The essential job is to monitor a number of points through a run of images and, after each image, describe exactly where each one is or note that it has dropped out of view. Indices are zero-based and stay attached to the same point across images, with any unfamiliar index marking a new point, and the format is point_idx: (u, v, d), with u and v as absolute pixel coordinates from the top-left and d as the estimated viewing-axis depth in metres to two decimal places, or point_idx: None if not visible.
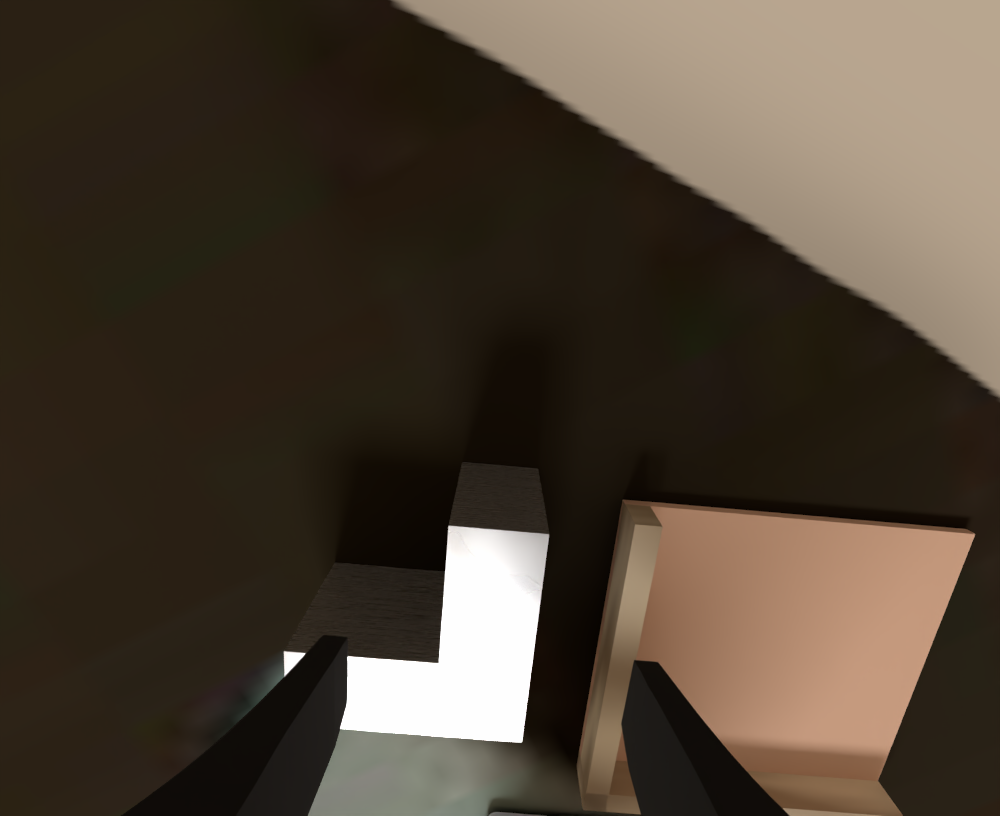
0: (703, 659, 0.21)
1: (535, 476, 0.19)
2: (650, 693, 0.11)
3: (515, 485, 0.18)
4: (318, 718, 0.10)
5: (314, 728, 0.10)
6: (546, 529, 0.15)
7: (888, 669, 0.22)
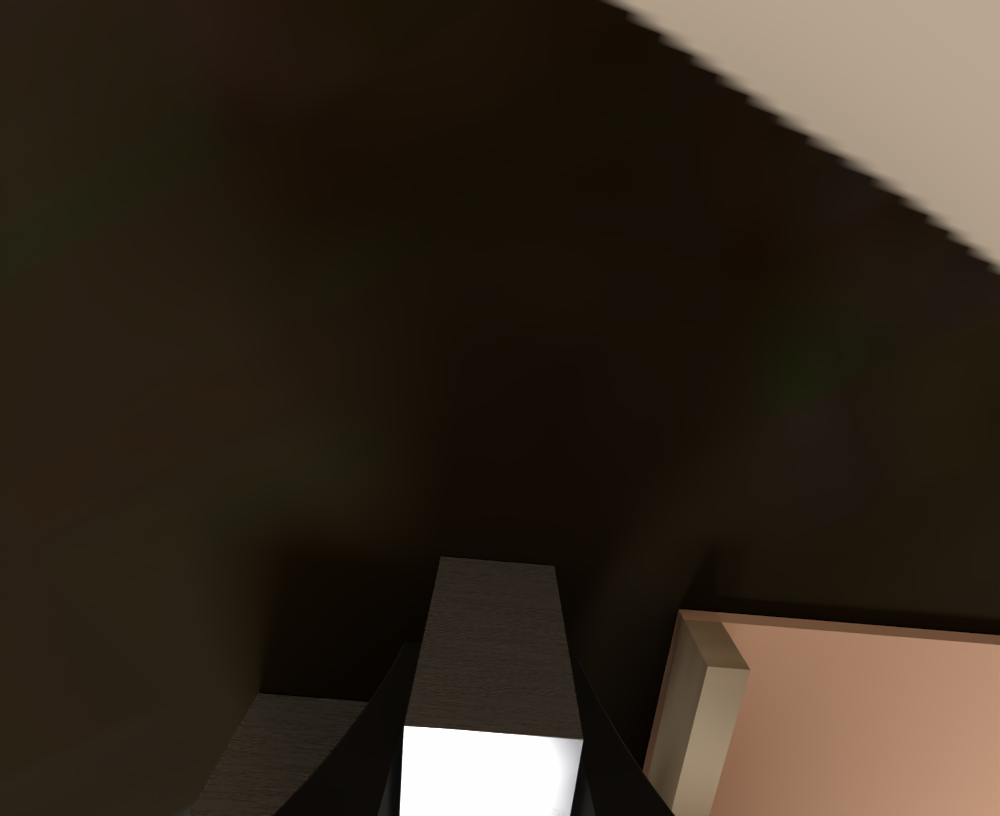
0: None
1: (551, 583, 0.12)
2: None
3: (521, 607, 0.11)
4: None
5: None
6: (577, 725, 0.09)
7: None
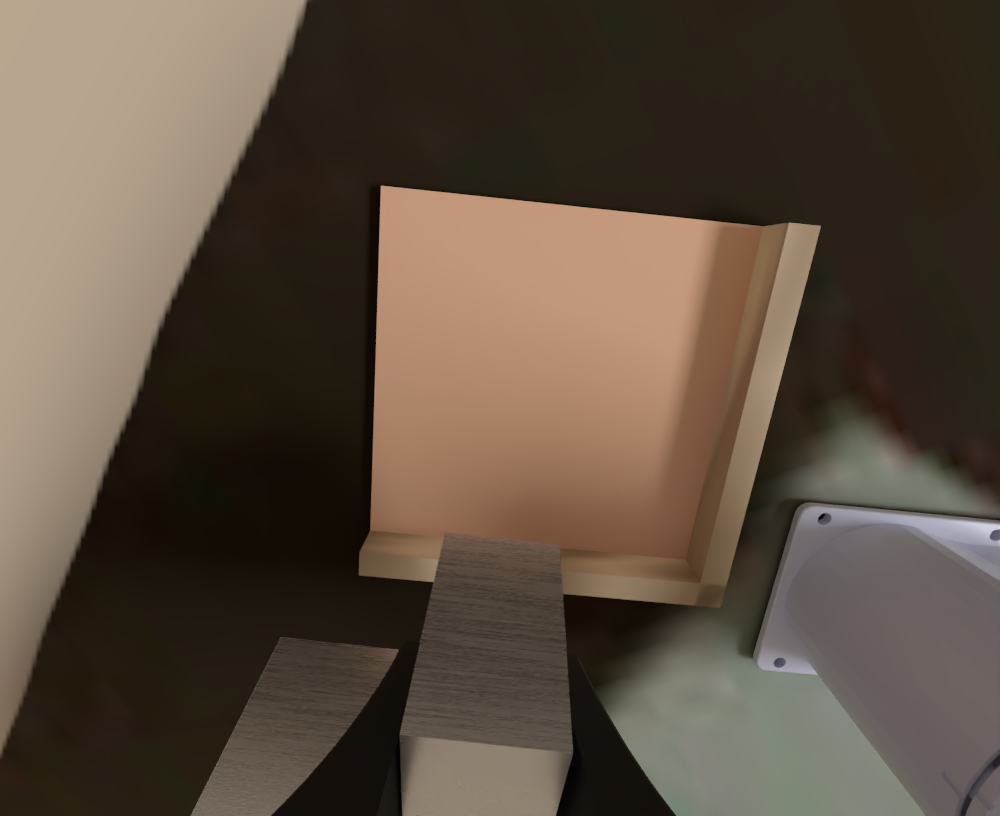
0: (551, 466, 0.19)
1: (555, 566, 0.12)
2: None
3: (522, 595, 0.11)
4: None
5: None
6: (568, 736, 0.09)
7: (574, 251, 0.17)
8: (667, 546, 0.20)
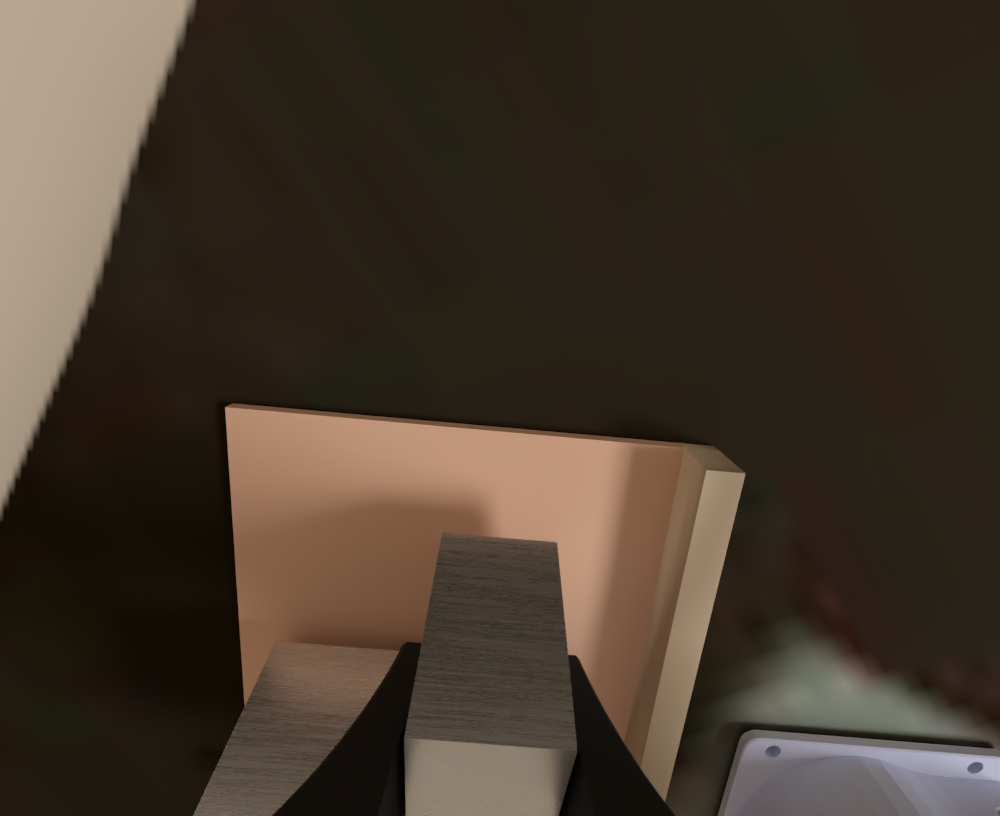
0: None
1: (553, 564, 0.12)
2: None
3: (521, 594, 0.11)
4: None
5: None
6: (572, 734, 0.09)
7: (461, 474, 0.14)
8: None
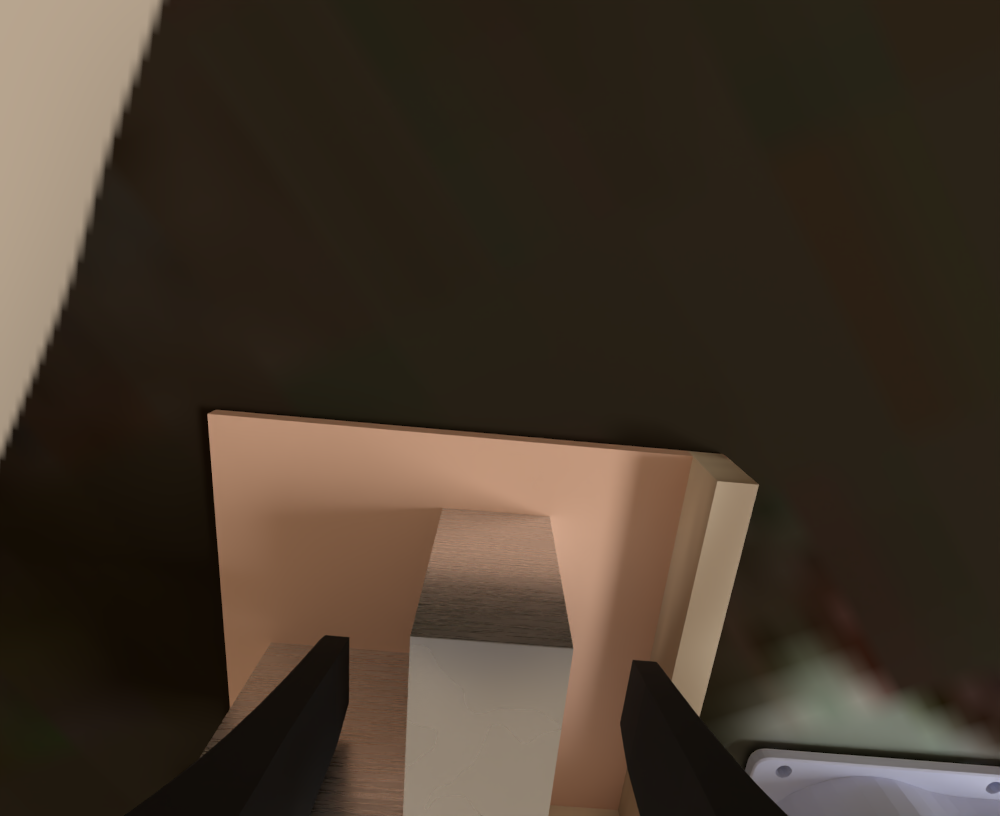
0: None
1: (546, 530, 0.13)
2: (649, 693, 0.11)
3: (518, 548, 0.12)
4: (320, 718, 0.10)
5: (316, 728, 0.10)
6: (568, 637, 0.09)
7: (457, 484, 0.14)
8: (595, 796, 0.17)
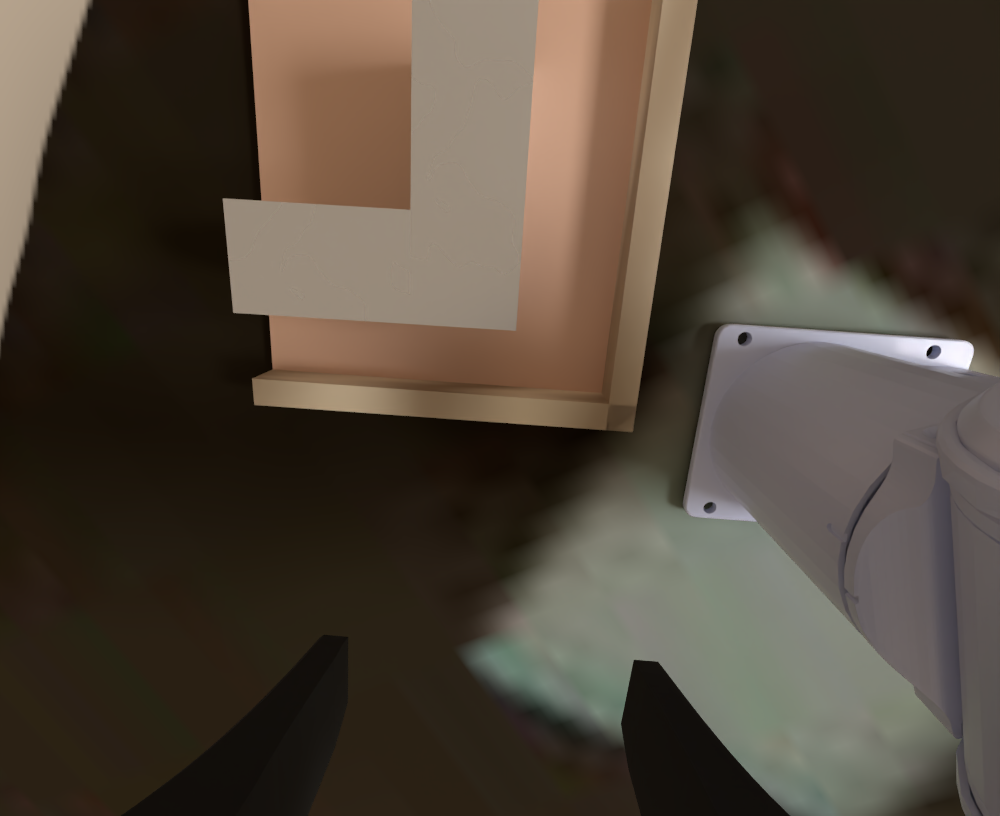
0: None
1: None
2: (650, 693, 0.11)
3: None
4: (318, 718, 0.10)
5: (315, 728, 0.10)
6: None
7: None
8: (581, 378, 0.19)
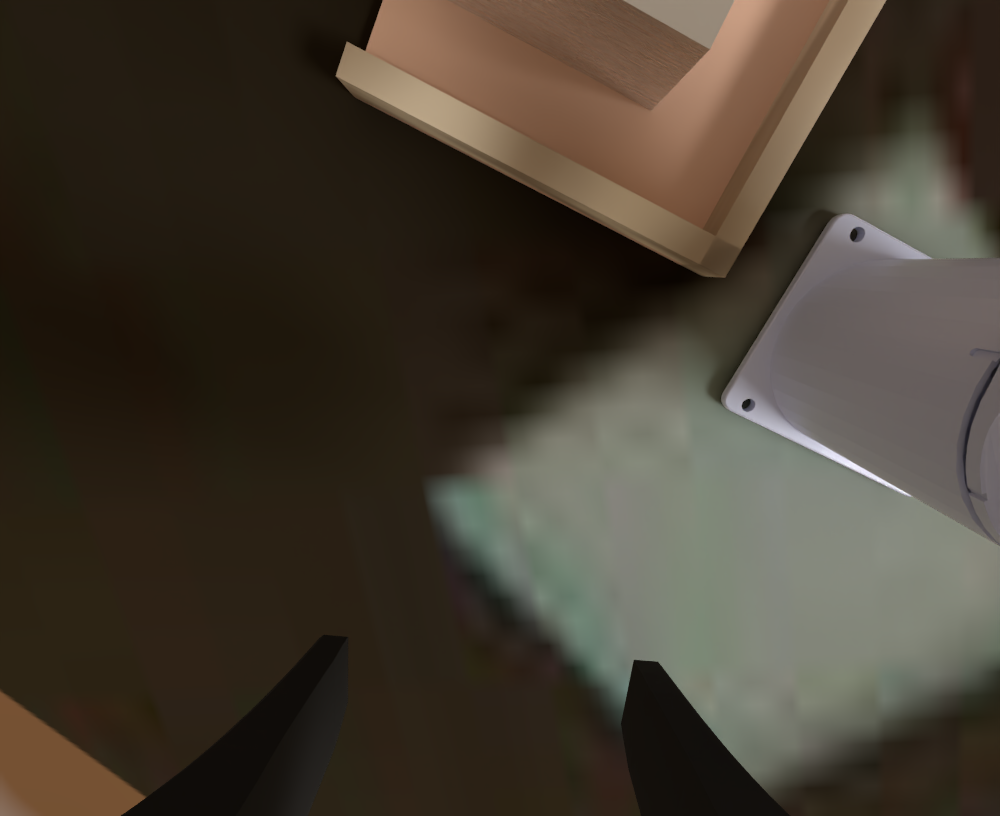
0: None
1: None
2: (650, 693, 0.11)
3: None
4: (318, 718, 0.10)
5: (315, 728, 0.10)
6: None
7: None
8: (684, 214, 0.18)
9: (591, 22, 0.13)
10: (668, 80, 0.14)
